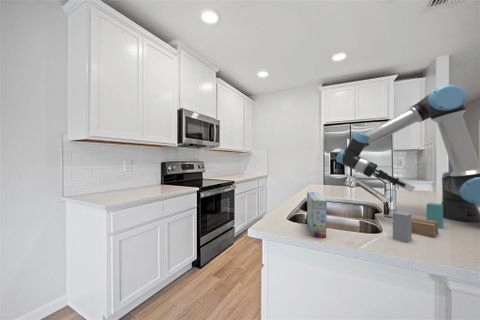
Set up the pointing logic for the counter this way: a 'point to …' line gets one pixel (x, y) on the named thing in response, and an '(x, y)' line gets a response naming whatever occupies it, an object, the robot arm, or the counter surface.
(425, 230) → the walnut block
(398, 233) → the grey pillar
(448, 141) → the robot arm
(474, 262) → the counter surface
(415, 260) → the counter surface
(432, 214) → the teal pillar
